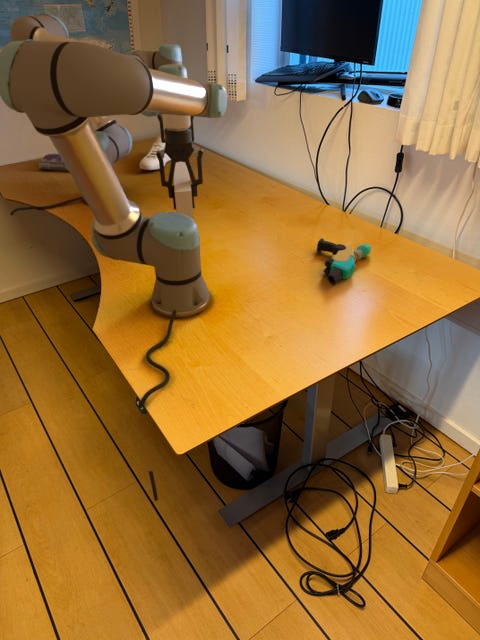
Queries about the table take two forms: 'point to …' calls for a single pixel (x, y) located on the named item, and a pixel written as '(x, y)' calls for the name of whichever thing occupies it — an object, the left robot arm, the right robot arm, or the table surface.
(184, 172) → the beam
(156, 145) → the sneaker
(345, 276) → the toy gun
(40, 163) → the toy gun
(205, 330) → the table surface
